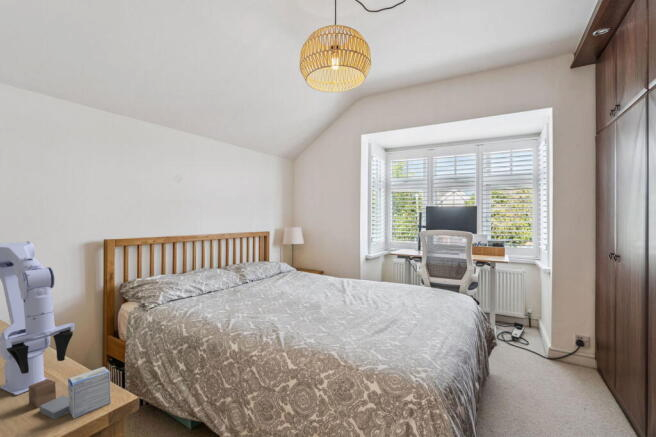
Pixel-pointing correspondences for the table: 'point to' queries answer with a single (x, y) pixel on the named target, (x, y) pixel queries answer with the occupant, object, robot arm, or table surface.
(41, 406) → the slate block
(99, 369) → the medicine box
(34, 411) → the table surface
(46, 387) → the walnut cube
